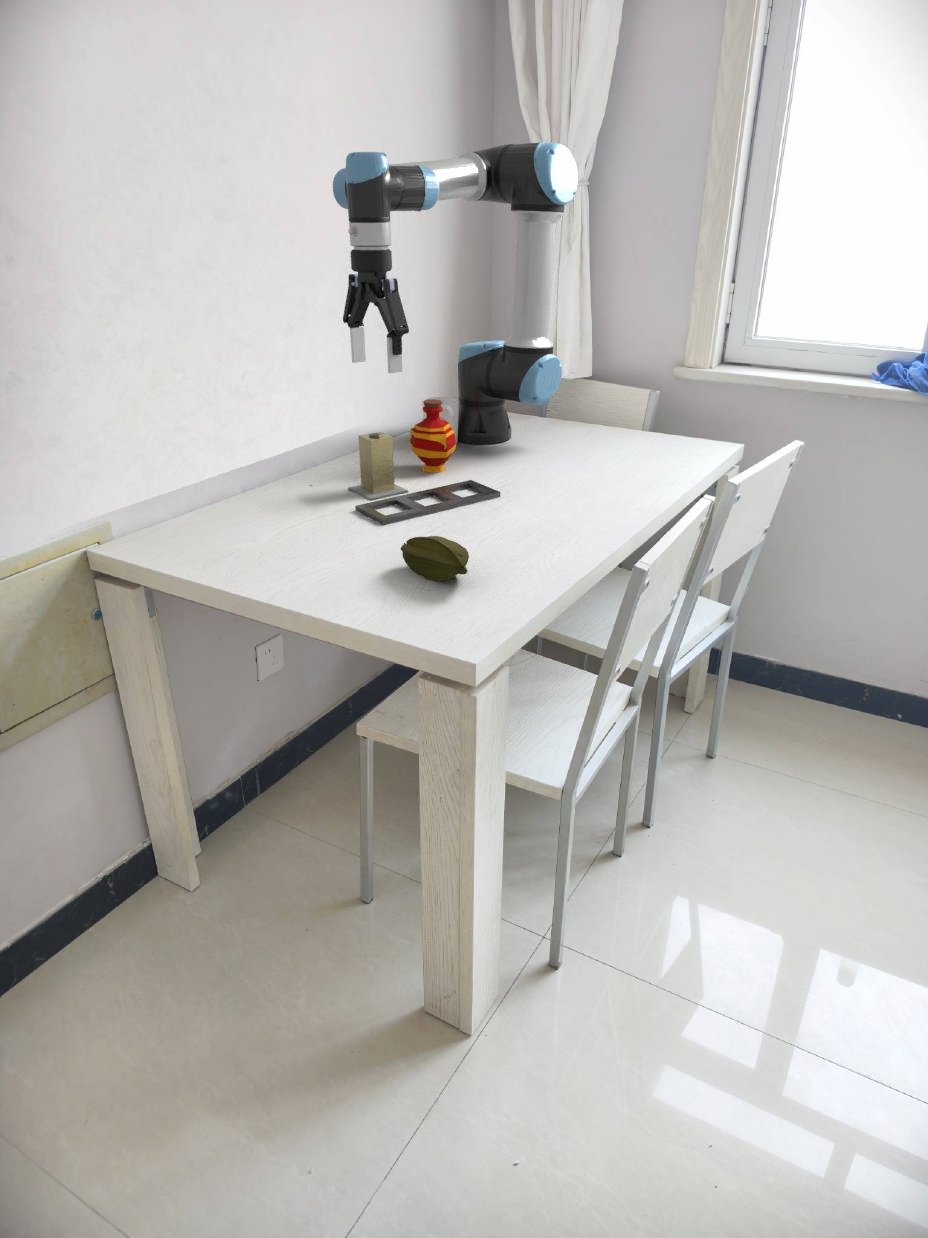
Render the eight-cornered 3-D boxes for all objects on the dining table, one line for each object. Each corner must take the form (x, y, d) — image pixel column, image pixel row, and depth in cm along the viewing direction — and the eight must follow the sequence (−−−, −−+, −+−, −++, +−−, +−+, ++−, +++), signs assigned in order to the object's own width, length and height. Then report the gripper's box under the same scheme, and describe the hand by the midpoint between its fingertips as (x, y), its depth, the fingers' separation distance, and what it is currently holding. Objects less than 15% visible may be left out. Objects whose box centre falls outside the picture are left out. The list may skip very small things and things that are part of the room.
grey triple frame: (355, 510, 165) (355, 505, 164) (470, 484, 180) (470, 479, 179) (382, 525, 158) (382, 519, 157) (500, 496, 173) (500, 491, 172)
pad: (348, 489, 177) (348, 487, 177) (385, 481, 182) (385, 479, 181) (370, 500, 170) (370, 498, 170) (408, 492, 175) (408, 490, 175)
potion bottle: (458, 463, 194) (458, 396, 187) (453, 476, 185) (453, 407, 178) (413, 461, 195) (411, 395, 188) (406, 475, 186) (404, 406, 179)
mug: (417, 440, 212) (416, 398, 207) (450, 437, 215) (450, 395, 210) (434, 451, 203) (434, 408, 198) (468, 447, 206) (469, 404, 201)
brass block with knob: (361, 487, 176) (358, 433, 171) (382, 483, 179) (379, 430, 174) (373, 494, 173) (370, 439, 168) (394, 489, 175) (392, 435, 170)
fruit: (471, 562, 142) (472, 525, 139) (467, 592, 131) (467, 553, 128) (403, 561, 143) (402, 523, 140) (394, 590, 132) (392, 551, 129)
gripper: (320, 245, 163) (328, 359, 172) (389, 252, 145) (394, 379, 154) (354, 243, 167) (360, 355, 176) (425, 250, 149) (428, 374, 158)
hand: (376, 367), depth 165 cm, fingers open, 13 cm apart
